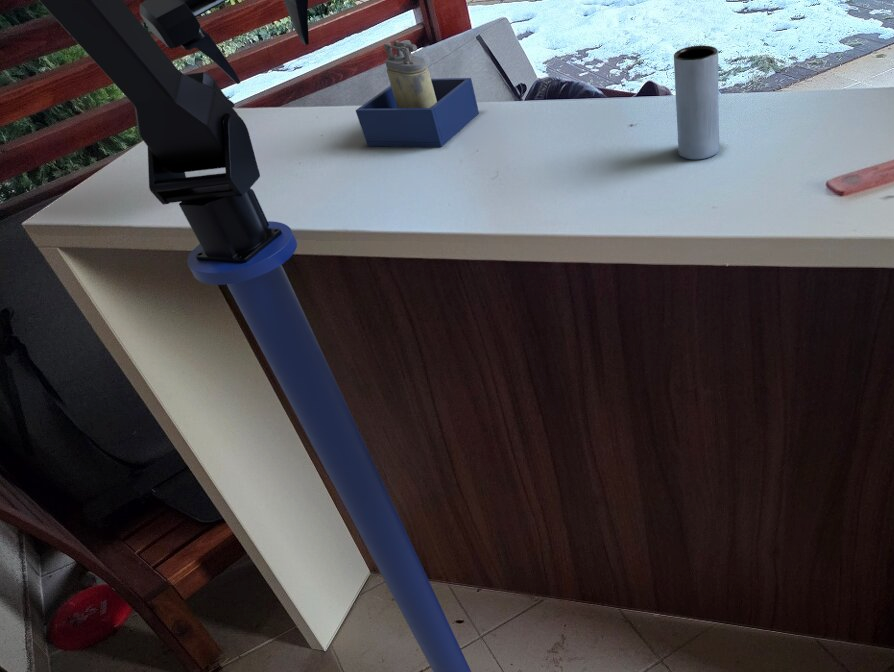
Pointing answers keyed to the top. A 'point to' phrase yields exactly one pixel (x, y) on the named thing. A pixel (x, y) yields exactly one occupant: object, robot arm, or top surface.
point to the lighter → (409, 76)
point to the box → (419, 116)
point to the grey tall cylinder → (697, 101)
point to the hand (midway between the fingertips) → (272, 62)
